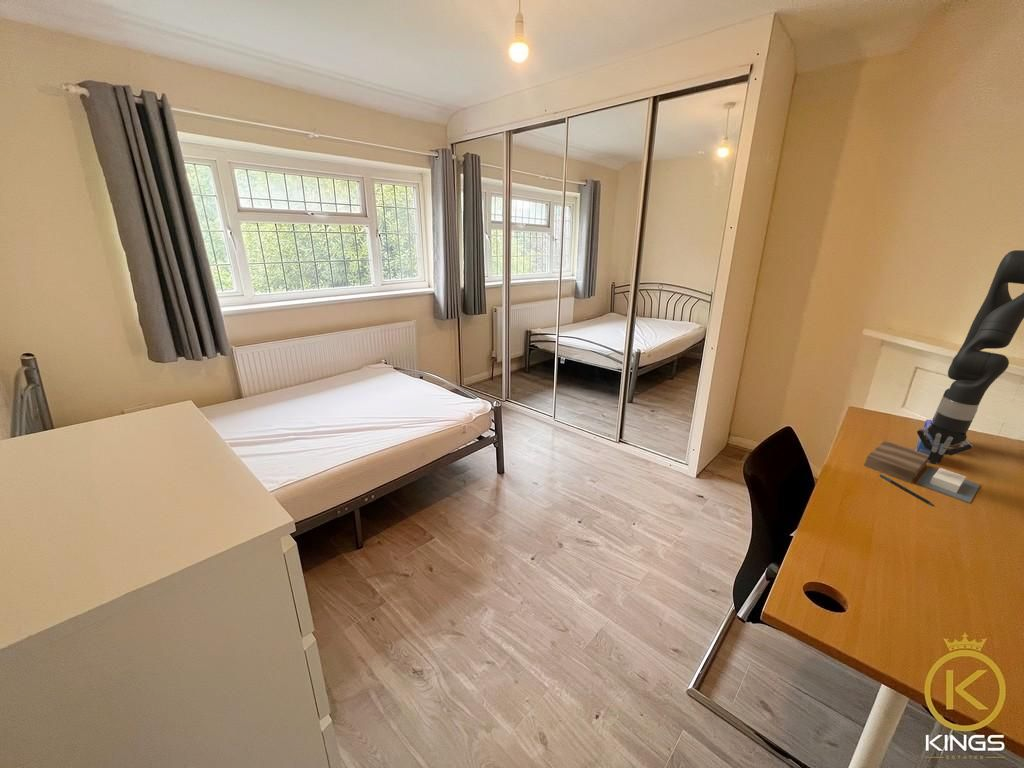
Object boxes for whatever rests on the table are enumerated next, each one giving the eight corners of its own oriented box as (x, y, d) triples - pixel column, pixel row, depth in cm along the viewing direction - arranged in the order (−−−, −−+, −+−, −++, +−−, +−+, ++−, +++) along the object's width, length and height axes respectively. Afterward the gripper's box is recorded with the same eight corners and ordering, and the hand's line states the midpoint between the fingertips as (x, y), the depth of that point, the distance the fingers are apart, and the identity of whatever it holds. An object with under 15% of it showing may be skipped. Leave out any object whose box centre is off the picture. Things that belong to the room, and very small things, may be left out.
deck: (880, 450, 147) (884, 440, 145) (925, 465, 138) (929, 455, 136) (863, 465, 137) (867, 455, 136) (910, 482, 128) (915, 472, 126)
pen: (932, 508, 117) (933, 504, 117) (878, 476, 132) (879, 473, 131) (935, 507, 117) (936, 504, 117) (880, 476, 132) (882, 473, 131)
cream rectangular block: (966, 476, 127) (962, 483, 128) (940, 467, 131) (936, 474, 132) (959, 486, 122) (956, 493, 123) (932, 476, 127) (929, 483, 127)
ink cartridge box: (913, 448, 149) (928, 412, 143) (934, 453, 145) (950, 417, 140) (912, 458, 142) (928, 421, 137) (934, 464, 138) (951, 427, 133)
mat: (928, 467, 136) (928, 466, 136) (979, 485, 127) (980, 484, 127) (915, 483, 128) (915, 482, 128) (969, 503, 119) (970, 502, 119)
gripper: (989, 419, 120) (964, 468, 126) (929, 403, 130) (909, 450, 136) (985, 425, 116) (959, 476, 122) (923, 409, 126) (902, 456, 132)
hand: (933, 462), depth 129 cm, fingers closed
